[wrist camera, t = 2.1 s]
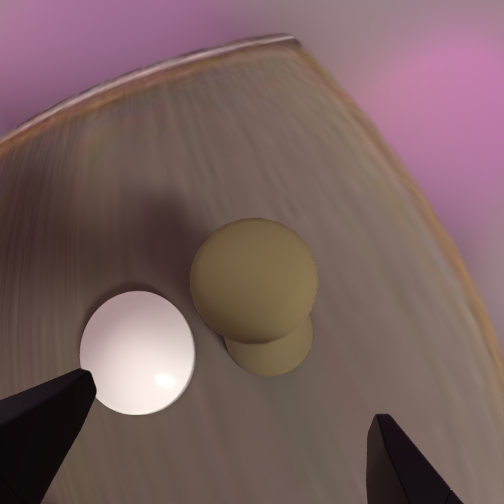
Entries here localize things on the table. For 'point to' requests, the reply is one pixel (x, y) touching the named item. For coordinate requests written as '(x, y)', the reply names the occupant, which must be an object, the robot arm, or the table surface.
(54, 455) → the robot arm
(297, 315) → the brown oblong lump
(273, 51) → the table surface
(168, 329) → the coaster
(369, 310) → the table surface
